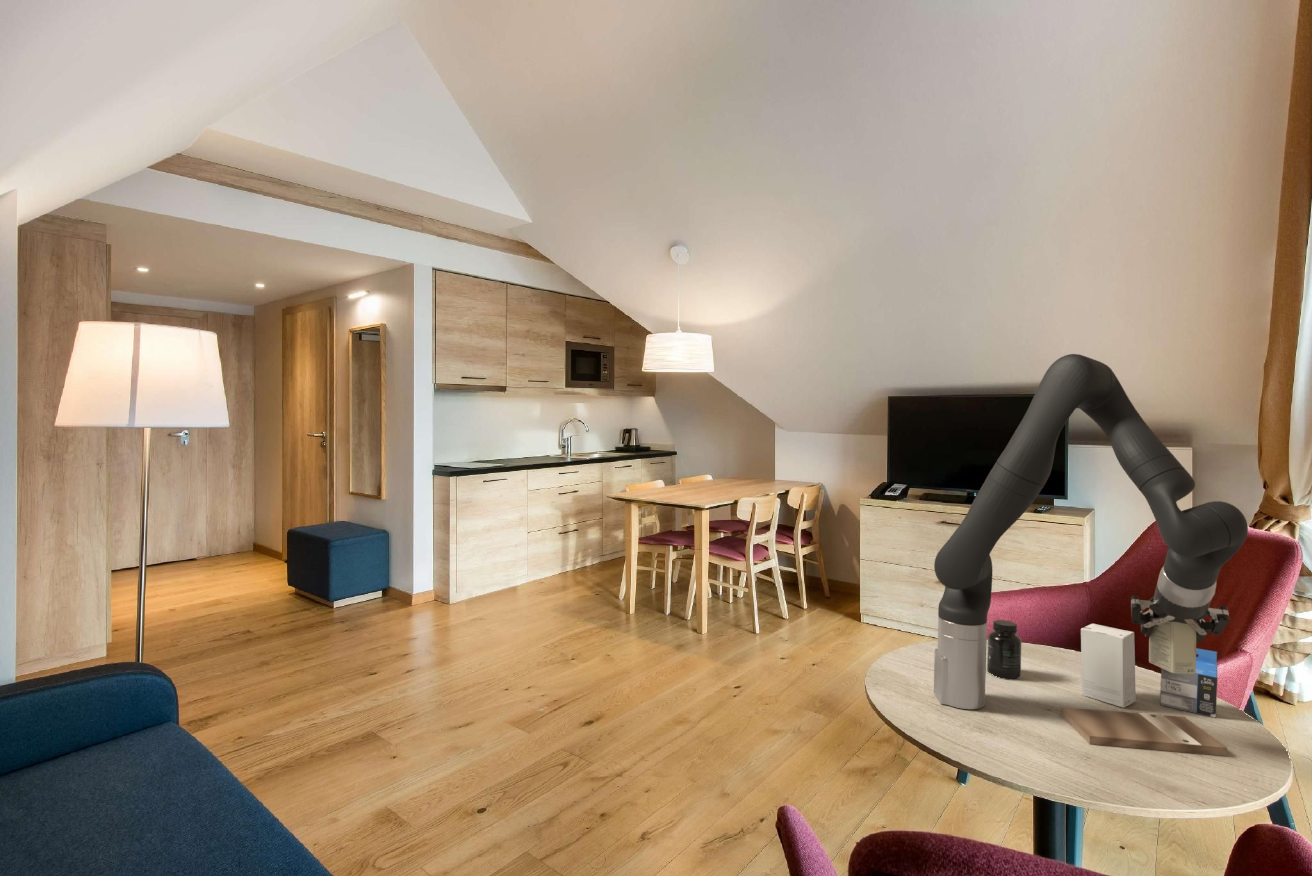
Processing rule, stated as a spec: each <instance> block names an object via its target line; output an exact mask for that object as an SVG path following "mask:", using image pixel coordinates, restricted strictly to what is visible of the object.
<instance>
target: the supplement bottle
mask: <svg viewBox="0 0 1312 876" xmlns="http://www.w3.org/2000/svg"><path fill="white" fill-rule="evenodd" d="M992 630H993V631H991V632H989V634H987V654H986V671H987V672H988V673H989V674H990V673H991V674H993V675H994V676H993V675H992V676H993V677H995V676H997V677H996V678H998V677H1000V678H999V679H1002V678H1005V679H1004V680H1010V679H1012V680H1017V679H1019V678H1020V677H1021V674H1022V673H1021V672H1022V671H1021V670H1022V669H1021V668H1022V639H1021V637H1020V636H1019V635H1017V633H1018V624H1017V623H1015V622H1014V621H1010V620H1006V619H995V620H993V622H992ZM991 674H990V675H991Z"/></svg>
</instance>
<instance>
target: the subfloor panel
mask: <svg viewBox="0 0 1312 876" xmlns="http://www.w3.org/2000/svg"><path fill="white" fill-rule="evenodd" d="M1060 716H1062V718H1063V719H1064V720H1065V721H1066V722H1067V723H1069V725H1070V726H1071V727H1072V728H1073V730H1075V731H1076V732H1077V733H1078V734H1079V735H1080V736H1081V737H1082V738H1083V739H1084V740H1085V741H1086V743H1088V744H1089V745H1095V746H1108V747H1119V748H1131V749H1140V750H1142V749H1143V750H1153V751H1165V752H1175V753H1176V752H1177V753H1187V754H1199V755H1200V754H1201V755H1209V754H1212V755H1211V756H1220V755H1227V756H1228V747H1227V746H1226V745H1224V744H1223V743H1222V742H1220V741H1218V739H1216V738H1215V737H1213V736H1212V735H1210V734H1209V733H1208V732H1206V731H1205V730H1203V729H1202V728H1201V727H1200V726H1198V725H1196V724H1195V723H1194V722H1193V721H1192V720H1190V719H1188V718H1187V717H1185V716H1178V715H1167V714H1166V715H1165V714H1160V713H1146V712H1130V711H1129V712H1128V711H1117V710H1116V711H1113V710H1101V709H1093V708H1092V709H1090V708H1089V709H1088V708H1080V707H1079V708H1077V707H1076V708H1075V707H1067V706H1066V707H1063V706H1060Z"/></svg>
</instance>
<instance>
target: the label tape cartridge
mask: <svg viewBox="0 0 1312 876" xmlns="http://www.w3.org/2000/svg"><path fill="white" fill-rule="evenodd" d="M1196 655H1198V656H1196V674H1181V673H1171V672H1169V671H1167V670H1165V669H1162V668H1160V672H1161V673H1160V674H1161V675H1160V691H1159V692H1160V693H1159V695H1160V697H1159V699H1160V702H1159V703H1160V706H1163V707H1167V708H1171V709H1172V708H1173V709H1175V710H1176V709H1177V710H1181V711H1185V712H1190V713H1194V714H1198V715H1203V716H1206V715H1207V716H1206V717H1210V716H1211V718H1214V717H1216V718H1217V701H1218V700H1217V699H1218V664H1217V662H1218V652H1217V651H1214V650H1208V649H1201V648H1197V647H1196Z"/></svg>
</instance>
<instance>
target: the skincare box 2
mask: <svg viewBox="0 0 1312 876" xmlns="http://www.w3.org/2000/svg"><path fill="white" fill-rule="evenodd" d="M1149 609H1150V608H1149ZM1149 609H1148V610H1149ZM1148 638H1149V639H1148V662H1149V663H1150V664H1152V665H1154V666H1157V667H1158V668H1160V669H1161V668H1162V669H1165V670H1167V671H1169V672H1171V673H1181V674H1196V657H1197V654H1196V648H1197V644H1196V630H1193V629H1192V627H1191V626H1190V625H1189V624H1188V623H1187V624H1184V623H1179V622H1169V621H1167V622H1165V623H1163V624H1161V625H1154V626H1152V631H1151V635H1150V637H1148Z"/></svg>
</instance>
